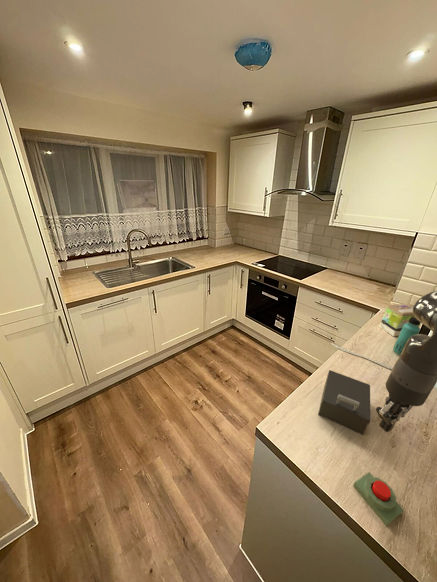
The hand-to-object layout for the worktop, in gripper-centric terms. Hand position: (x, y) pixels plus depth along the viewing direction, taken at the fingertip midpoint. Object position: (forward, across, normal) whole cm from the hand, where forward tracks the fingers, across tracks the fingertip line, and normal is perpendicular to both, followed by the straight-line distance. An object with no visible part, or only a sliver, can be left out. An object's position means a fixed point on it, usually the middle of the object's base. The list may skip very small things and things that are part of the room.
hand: (384, 428), depth 60 cm
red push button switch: (+17, -4, -6) cm, 18 cm away
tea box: (+16, +82, +41) cm, 93 cm away
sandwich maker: (+17, +10, +17) cm, 26 cm away
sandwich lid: (+10, +10, +16) cm, 22 cm away
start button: (+14, -4, -6) cm, 16 cm away
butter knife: (+17, +42, +34) cm, 56 cm away
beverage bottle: (+17, +62, +27) cm, 70 cm away
